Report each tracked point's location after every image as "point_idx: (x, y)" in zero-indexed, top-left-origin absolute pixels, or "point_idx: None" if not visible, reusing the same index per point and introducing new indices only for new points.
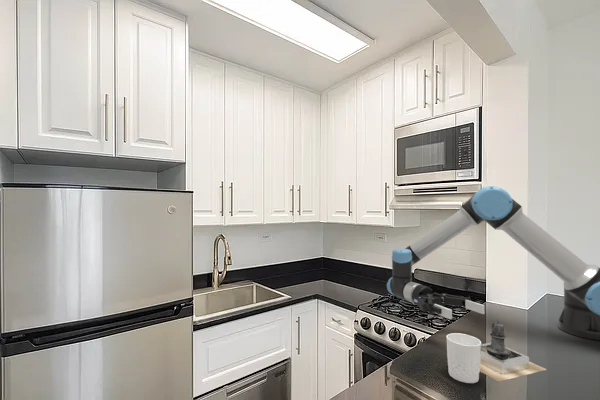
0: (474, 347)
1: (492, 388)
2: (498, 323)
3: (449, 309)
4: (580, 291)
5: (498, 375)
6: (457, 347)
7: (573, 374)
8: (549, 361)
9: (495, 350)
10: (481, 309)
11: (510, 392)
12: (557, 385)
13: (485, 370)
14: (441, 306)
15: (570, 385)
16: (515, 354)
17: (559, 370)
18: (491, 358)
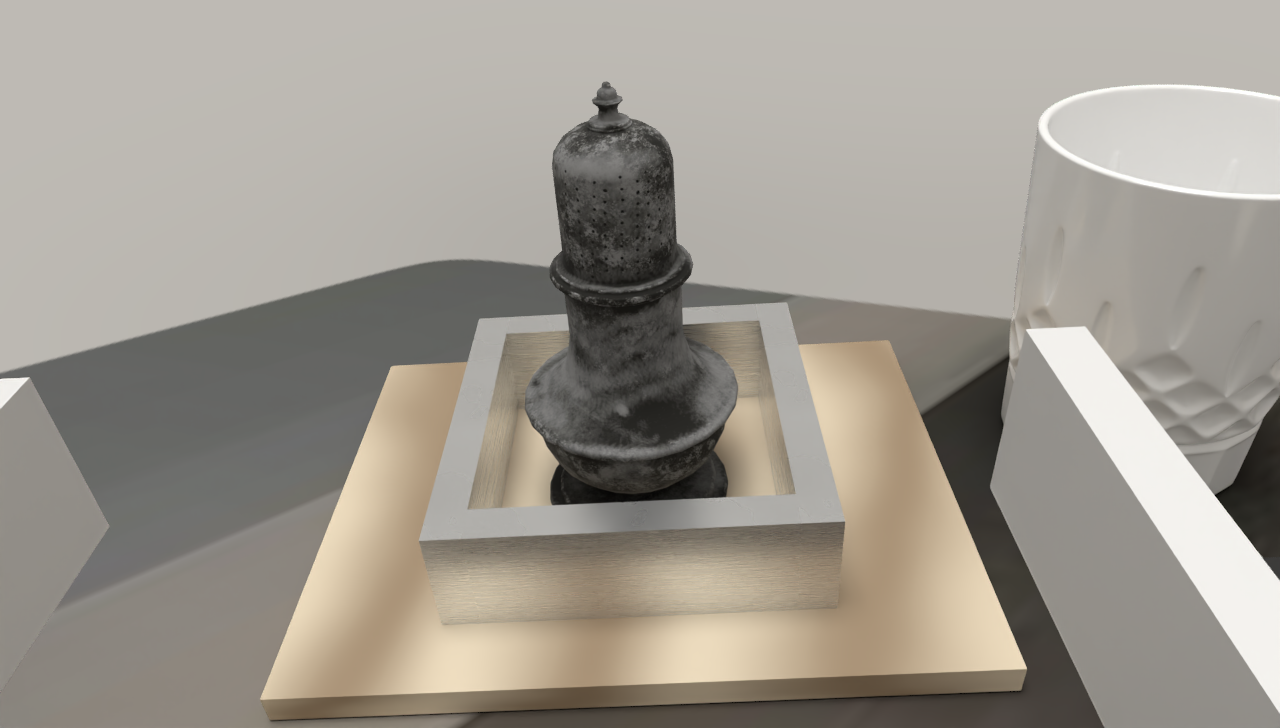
0: (1160, 95)
1: (961, 347)
2: (629, 118)
3: (1071, 354)
4: None
5: (824, 377)
6: None
7: (268, 349)
8: (150, 463)
9: (701, 356)
10: (57, 478)
11: (876, 314)
12: (522, 310)
13: (870, 429)
14: (1206, 541)
15: (452, 301)
16: (500, 381)
17: (277, 385)
18: (802, 361)
